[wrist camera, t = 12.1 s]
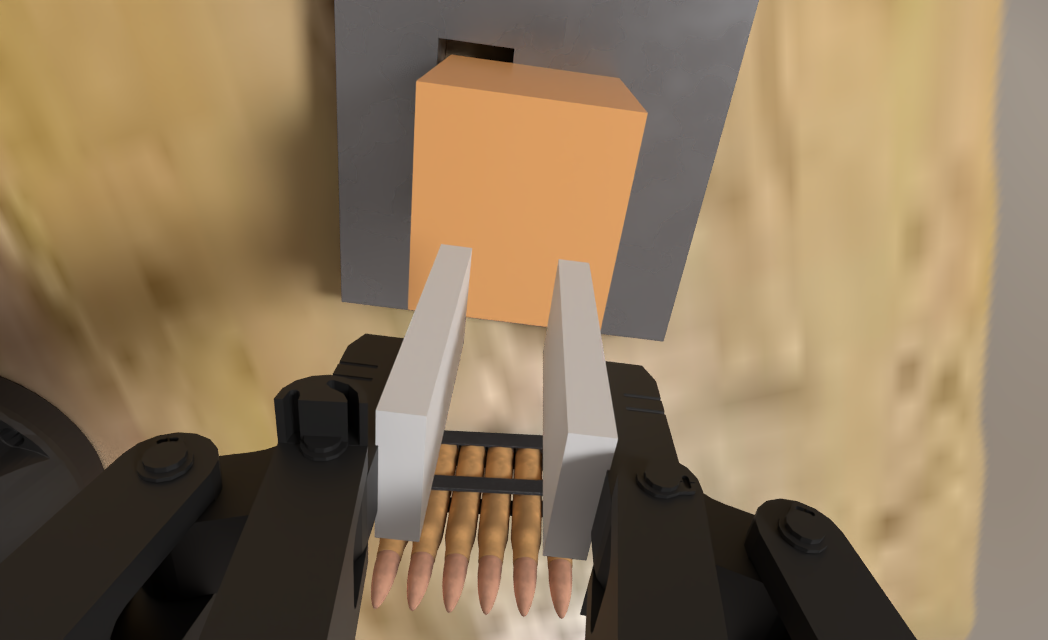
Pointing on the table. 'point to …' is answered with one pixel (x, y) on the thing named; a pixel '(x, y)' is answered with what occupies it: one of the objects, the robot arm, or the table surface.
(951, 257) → the table surface
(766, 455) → the table surface
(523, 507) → the ammunition clip
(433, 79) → the cardboard-colored brick
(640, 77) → the socket plate
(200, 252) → the table surface
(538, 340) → the table surface
